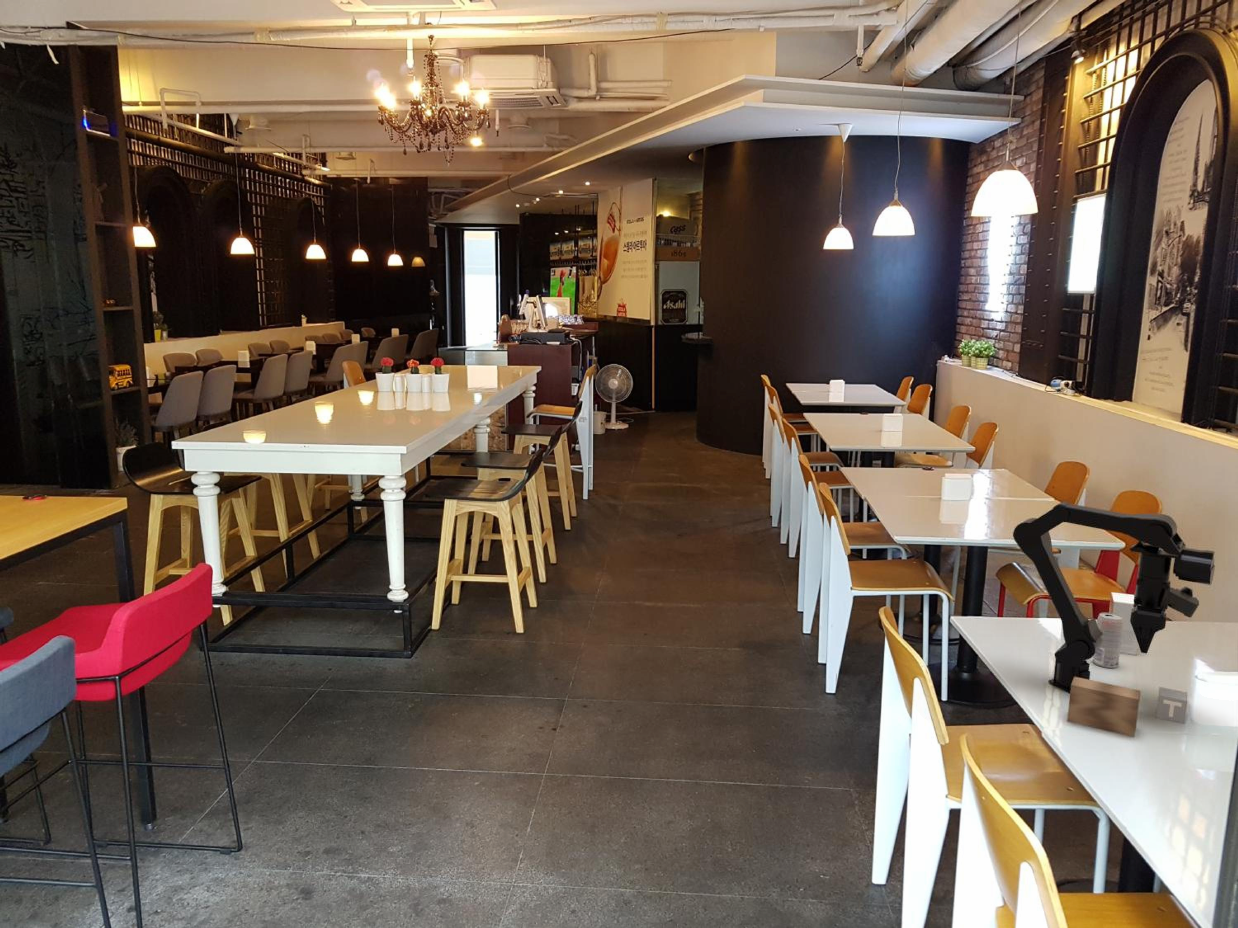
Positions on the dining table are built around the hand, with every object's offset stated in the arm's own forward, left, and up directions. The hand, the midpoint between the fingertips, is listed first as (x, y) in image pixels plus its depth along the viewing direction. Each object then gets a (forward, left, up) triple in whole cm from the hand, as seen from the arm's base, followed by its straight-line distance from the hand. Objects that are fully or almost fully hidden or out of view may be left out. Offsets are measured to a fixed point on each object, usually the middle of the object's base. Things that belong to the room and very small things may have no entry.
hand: (1144, 645), depth 192 cm
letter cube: (+7, +1, -13) cm, 15 cm away
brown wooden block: (+4, -16, -13) cm, 21 cm away
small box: (-24, +26, -13) cm, 38 cm away
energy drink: (-18, +13, -13) cm, 26 cm away
